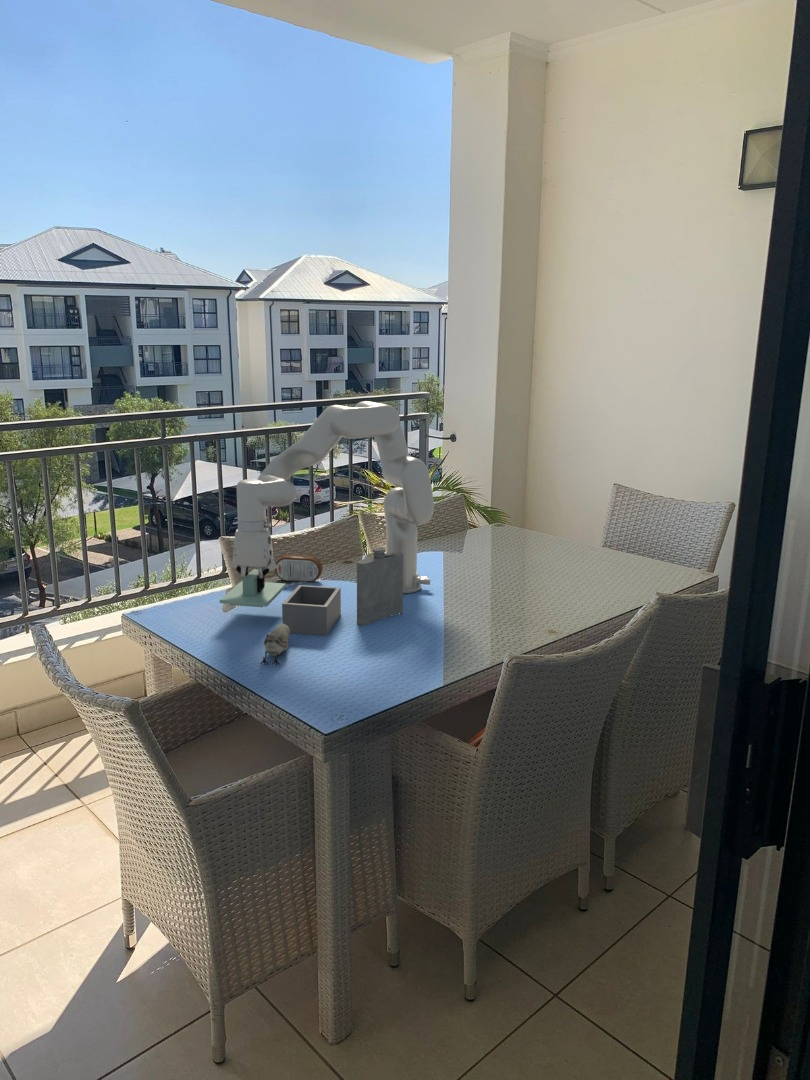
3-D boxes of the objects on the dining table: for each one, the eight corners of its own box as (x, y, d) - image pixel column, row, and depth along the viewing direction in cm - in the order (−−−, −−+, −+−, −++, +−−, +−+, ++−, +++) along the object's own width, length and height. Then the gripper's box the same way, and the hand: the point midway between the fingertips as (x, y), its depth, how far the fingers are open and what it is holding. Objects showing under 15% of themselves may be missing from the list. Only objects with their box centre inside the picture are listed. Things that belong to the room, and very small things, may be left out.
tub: (340, 614, 222) (340, 587, 220) (326, 635, 206) (326, 606, 204) (299, 611, 223) (298, 584, 221) (282, 632, 208) (282, 603, 206)
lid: (285, 590, 225) (285, 566, 223) (267, 610, 209) (266, 585, 207) (242, 587, 227) (241, 563, 225) (220, 606, 210) (219, 581, 209)
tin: (322, 580, 251) (322, 555, 249) (320, 583, 248) (320, 558, 246) (276, 578, 252) (275, 553, 250) (274, 581, 249) (273, 556, 247)
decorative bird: (295, 642, 202) (295, 615, 200) (280, 668, 186) (279, 639, 184) (275, 641, 202) (274, 614, 200) (258, 667, 187) (257, 638, 185)
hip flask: (361, 626, 213) (362, 555, 208) (352, 622, 216) (352, 552, 211) (404, 613, 224) (406, 545, 219) (395, 609, 227) (396, 542, 222)
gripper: (285, 524, 215) (286, 588, 220) (228, 520, 217) (230, 584, 222) (277, 530, 208) (278, 596, 212) (217, 527, 210) (220, 592, 215)
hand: (253, 589), depth 217 cm, fingers closed on lid, 3 cm apart
